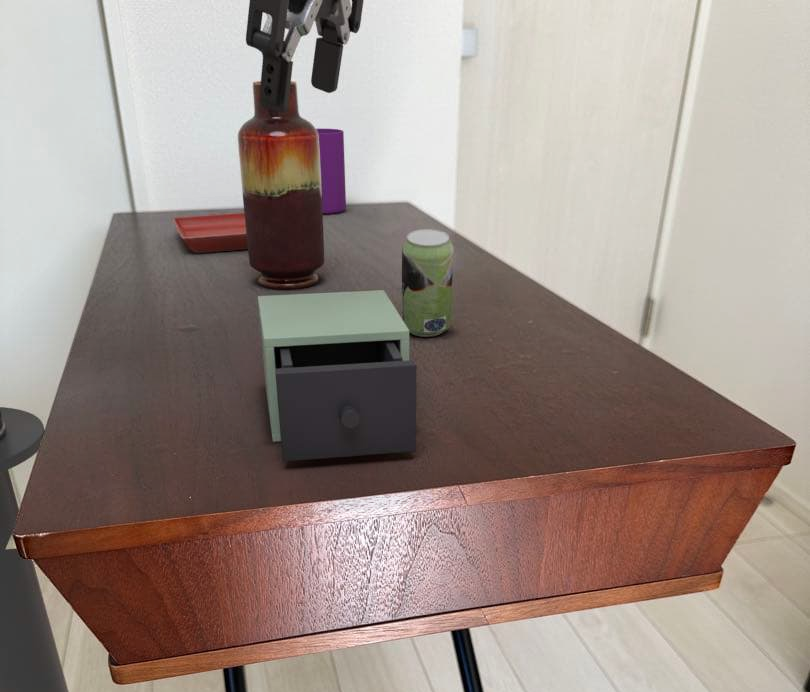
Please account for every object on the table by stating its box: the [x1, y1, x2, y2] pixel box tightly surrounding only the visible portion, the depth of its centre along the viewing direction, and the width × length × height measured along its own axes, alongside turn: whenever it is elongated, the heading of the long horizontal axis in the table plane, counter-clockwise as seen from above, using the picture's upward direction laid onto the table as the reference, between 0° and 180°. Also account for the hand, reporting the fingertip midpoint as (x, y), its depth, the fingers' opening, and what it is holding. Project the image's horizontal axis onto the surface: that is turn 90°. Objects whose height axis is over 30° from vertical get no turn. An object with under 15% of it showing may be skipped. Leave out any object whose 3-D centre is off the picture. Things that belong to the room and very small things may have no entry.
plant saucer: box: [172, 212, 248, 254], centre depth 147 cm, size 18×18×3 cm
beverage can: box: [401, 228, 455, 338], centre depth 101 cm, size 6×7×12 cm
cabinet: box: [257, 289, 410, 443], centre depth 80 cm, size 14×13×10 cm
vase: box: [237, 80, 325, 290], centre depth 118 cm, size 11×11×26 cm
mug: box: [316, 128, 347, 216], centre depth 169 cm, size 9×16×15 cm, turn 102°
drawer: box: [275, 340, 417, 463], centre depth 74 cm, size 14×11×8 cm
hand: (299, 99), depth 69 cm, fingers open, 8 cm apart
